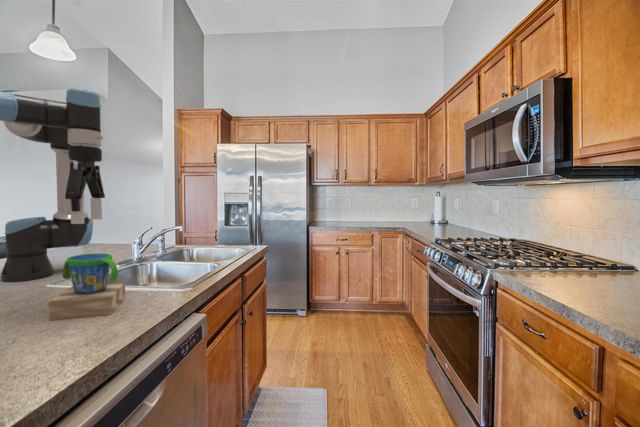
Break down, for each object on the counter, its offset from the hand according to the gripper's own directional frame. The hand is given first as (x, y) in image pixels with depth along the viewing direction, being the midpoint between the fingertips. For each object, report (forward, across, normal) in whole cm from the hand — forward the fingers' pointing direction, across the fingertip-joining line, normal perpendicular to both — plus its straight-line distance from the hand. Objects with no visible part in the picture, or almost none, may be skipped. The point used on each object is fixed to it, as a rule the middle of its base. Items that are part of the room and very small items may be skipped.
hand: (87, 221), depth 88 cm
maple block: (+25, 0, 0) cm, 25 cm away
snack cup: (+21, 0, 0) cm, 21 cm away
